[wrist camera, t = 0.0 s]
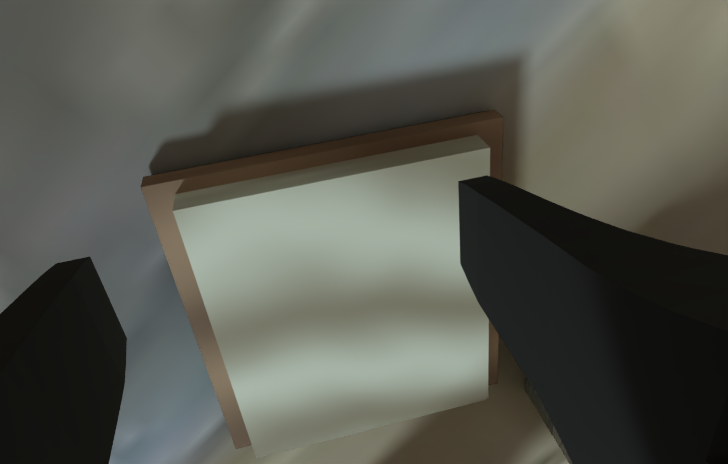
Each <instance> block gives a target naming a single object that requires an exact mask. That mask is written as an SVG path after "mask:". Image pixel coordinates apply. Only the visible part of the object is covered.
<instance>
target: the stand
mask: <svg viewBox="0 0 728 464" xmlns="http://www.w3.org/2000/svg"><path fill="white" fill-rule="evenodd" d="M502 153H503V116H501V115H500V114H499V113H498V112H497V111H495V110H491V111H485V112H480V113H475V114H470V115H464V116H459V117H454V118H449V119H444V120H438V121H433V122H428V123H423V124H417V125H412V126H407V127H402V128H397V129H391V130H386V131H381V132H376V133H370V134H365V135H360V136H355V137H350V138H344V139H339V140H334V141H329V142H324V143H318V144H313V145H308V146H303V147H297V148H292V149H287V150H282V151H277V152H271V153H266V154H261V155H256V156H250V157H245V158H240V159H235V160H230V161H224V162H219V163H214V164H209V165H203V166H198V167H193V168H188V169H183V170H177V171H172V172H167V173H162V174H157V175H151V176H146V177H143V180H142V184H141V189H142V192H143V195H144V198H145V200H146V203H147V206H148V209H149V211H150V214H151V217H152V220H153V222H154V225H155V228H156V231H157V233H158V236H159V239H160V242H161V244H162V247H163V250H164V253H165V255H166V258H167V261H168V264H169V266H170V269H171V272H172V275H173V277H174V280H175V283H176V286H177V288H178V291H179V294H180V297H181V299H182V302H183V305H184V308H185V310H186V313H187V316H188V318H189V321H190V324H191V327H192V329H193V332H194V335H195V338H196V340H197V343H198V346H199V349H200V351H201V354H202V357H203V360H204V362H205V365H206V368H207V371H208V373H209V376H210V379H211V382H212V384H213V387H214V390H215V393H216V395H217V398H218V401H219V404H220V406H221V409H222V412H223V415H224V417H225V420H226V423H227V426H228V428H229V431H230V434H231V437H232V439H233V442H234V445H235V448H236V449H238V448H242V447H246V446H250V445H252V447H253V450H254V453H255V456H256V458H260V457H264V456H268V455H272V454H276V453H280V452H284V451H288V450H292V449H295V448H299V447H303V446H307V445H311V444H315V443H319V442H323V441H327V440H331V439H335V438H339V437H342V436H346V435H350V434H354V433H358V432H362V431H366V430H370V429H374V428H378V427H382V426H386V425H390V424H393V423H397V422H401V421H405V420H409V419H413V418H417V417H421V416H425V415H429V414H433V413H437V412H441V411H444V410H448V409H452V408H456V407H460V406H464V405H468V404H472V403H476V402H480V401H484V400H488V385H492V384H496V383H498V346H499V334H498V333H497V331H496V330H495V328H494V327H493V325H492V323H491V322H490V320H489V319H488V317H487V316H486V314H485V313H484V311H483V309H482V308H481V306H480V305H479V303H478V301H477V299H476V297H475V295H474V293H473V291H472V289H471V287H470V284H469V282H468V280H467V278H466V275H465V273H464V271H463V269H462V266H461V264H460V231H459V190H458V181H462V180H467V179H472V178H477V177H481V176H486V175H488V176H491V177H494V178H497V179H499V180H502Z"/></svg>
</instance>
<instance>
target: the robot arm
mask: <svg viewBox="0 0 728 464" xmlns="http://www.w3.org/2000/svg"><path fill="white" fill-rule="evenodd" d="M458 190H459V231H460V264H461V266H462V269H463V271H464V273H465V275H466V278H467V280H468V282H469V284H470V287H471V289H472V291H473V293H474V295H475V297H476V299H477V301H478V303H479V305H480V306H481V308H482V309H483V311H484V313H485V314H486V316H487V317H488V319H489V320H490V322H491V323H492V325H493V327H494V328H495V330H496V331H497V333H498V334H499V336H500V337H501V339H502V340H503V342H504V343H505V345H506V346H507V348H508V350H509V351H510V353H511V354H512V356H513V357H514V359H515V360H516V362H517V363H518V365H519V366H520V368H521V369H522V371H523V372H524V374H525V376H526V377H527V379H528V380H529V382H530V383H531V385H532V386H533V388H534V390H535V392H536V393H537V395H538V397H539V398H540V400H541V402H542V403H543V405H544V407H545V409H546V411H547V413H548V415H549V417H550V419H551V421H552V423H553V425H554V427H555V429H556V431H557V433H558V435H559V437H560V439H561V441H562V443H563V445H564V447H565V449H566V451H567V453H568V455H569V457H570V459H571V462H572V464H728V255H723V254H718V253H713V252H708V251H703V250H698V249H693V248H689V247H685V246H680V245H676V244H672V243H668V242H665V241H661V240H658V239H654V238H651V237H647V236H643V235H640V234H636V233H633V232H630V231H627V230H624V229H621V228H618V227H615V226H612V225H609V224H606V223H604V222H601V221H598V220H595V219H592V218H590V217H587V216H585V215H582V214H579V213H577V212H574V211H572V210H569V209H567V208H565V207H562V206H560V205H557V204H555V203H553V202H550V201H548V200H546V199H543V198H541V197H539V196H536V195H534V194H532V193H530V192H527V191H525V190H523V189H521V188H518V187H516V186H514V185H511V184H509V183H507V182H504V181H502V180H499V179H497V178H494V177H491V176H488V175H486V176H481V177H477V178H472V179H467V180H462V181H458ZM126 341H127V338H126V336H125V333H124V331H123V329H122V327H121V324H120V322H119V320H118V318H117V316H116V313H115V311H114V309H113V307H112V304H111V302H110V300H109V298H108V296H107V293H106V291H105V289H104V287H103V284H102V282H101V280H100V278H99V276H98V273H97V271H96V269H95V267H94V264H93V262H92V260H91V258H90V257H86V258H81V259H76V260H71V261H66V262H62V263H57V264H55V265H54V266H52V267H51V268H50V269H49V270H47V271H46V272H45V273H44V274H43V275H42V276H40V277H39V278H38V279H37V280H36V281H35V282H34V283H33V284H32V285H31V286H29V287H28V288H27V289H26V290H25V291H24V292H23V293H22V294H21V295H20V296H19V297H18V298H17V299H16V300H15V301H14V302H13V303H12V304H10V305H9V306H8V307H7V308H6V309H5V310H4V311H3V312H2V313H1V314H0V464H109V459H110V454H111V449H112V445H113V440H114V435H115V430H116V425H117V420H118V415H119V410H120V405H121V400H122V395H123V389H124V383H125V368H126Z"/></svg>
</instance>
